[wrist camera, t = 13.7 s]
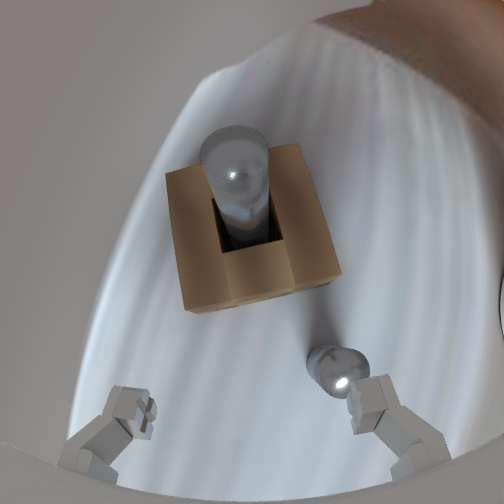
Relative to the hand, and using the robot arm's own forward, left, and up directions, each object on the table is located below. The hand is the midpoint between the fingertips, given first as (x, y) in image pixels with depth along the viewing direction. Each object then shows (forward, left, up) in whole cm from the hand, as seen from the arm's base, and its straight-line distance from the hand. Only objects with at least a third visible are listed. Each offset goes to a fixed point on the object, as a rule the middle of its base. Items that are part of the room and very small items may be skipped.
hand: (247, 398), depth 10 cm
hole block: (-2, -11, -15) cm, 19 cm away
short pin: (-6, +2, -15) cm, 16 cm away
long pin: (-2, -11, -15) cm, 19 cm away
